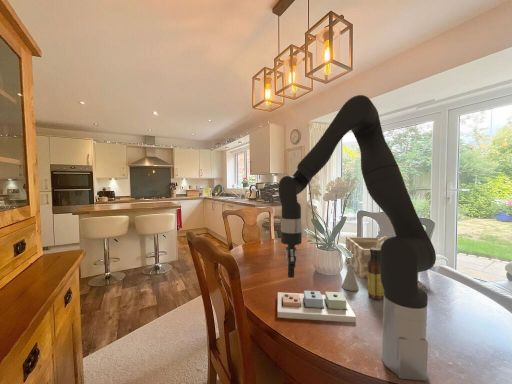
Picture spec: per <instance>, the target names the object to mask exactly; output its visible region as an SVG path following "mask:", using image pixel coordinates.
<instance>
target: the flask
mask: <svg viewBox="0 0 512 384" xmlns="http://www.w3.org/2000/svg"><path fill="white" fill-rule="evenodd" d="M346 267H347V269H346V270H347V271H346V275H345V277H344V279H343V282H342V284H341V287H342V288H343V290H347V291H351V292H355V291H356V292H358V291H359V284H358V282H357V279H356V276H355V270H354V267H355V266H354V265H350V264H346Z"/></svg>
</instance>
